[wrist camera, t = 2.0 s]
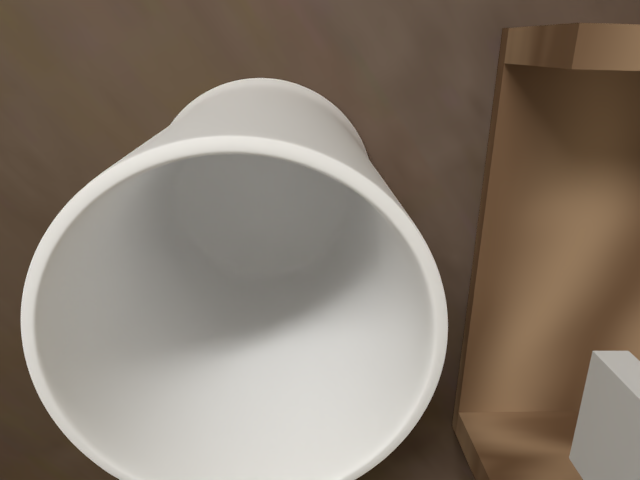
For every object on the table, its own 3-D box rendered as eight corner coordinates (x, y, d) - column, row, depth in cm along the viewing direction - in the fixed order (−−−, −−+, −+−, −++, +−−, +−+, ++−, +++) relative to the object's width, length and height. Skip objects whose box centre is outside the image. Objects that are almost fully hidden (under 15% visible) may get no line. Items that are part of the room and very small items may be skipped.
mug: (388, 339, 24) (478, 596, 13) (197, 368, 24) (120, 652, 13) (359, 62, 20) (449, 84, 9) (129, 96, 20) (-72, 161, 9)
